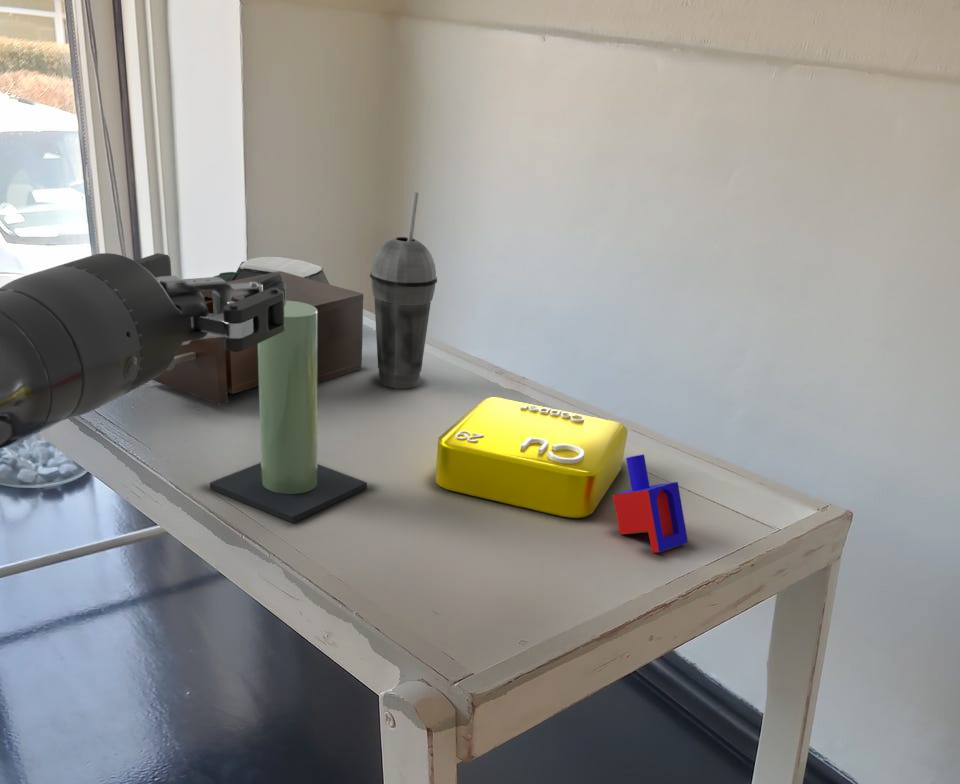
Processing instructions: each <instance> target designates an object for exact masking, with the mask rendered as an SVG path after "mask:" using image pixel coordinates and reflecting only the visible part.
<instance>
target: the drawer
mask: <svg viewBox="0 0 960 784" xmlns="http://www.w3.org/2000/svg"><path fill="white" fill-rule="evenodd" d="M205 302H206V305H207V307H208V311H209V312H208V313H212V314H214V311H213V300H208V301H205ZM152 381H154V382H156V383H159V384H162V385H165V386H168V387H170V388H173V389H175V390H178V391H180V392H183V393H186V394H189V395H192V396H195V397H199V398H201V399H203V400H205V401H209V402H212V403H214V404H217V405H222V404H225V403H227V402H228V400H229V399H228V394H230V395H233V394H236V393H240V392H243V391H246V390H249V389H253V388H256V387H258V355H257V344H256V345H254V346H252V347H250V348H247V349H245V350H243V351H239V352H232V351H229V350H226V349H225V337H217V338H207V339H198V340H192V341H191V342H190V343H189V344H187V345H181V346H180V348H179V350H178V351H177V353H176V355H175V357H174V359H173V361H172V363H171V364H170V366H169V367H168V368H167V369H166V370H165V371H164V372H163V373H162V374H161V375H160V376H158V377H157V378H155V379H153V380H152Z"/></svg>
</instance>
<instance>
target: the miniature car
mask: <svg viewBox="0 0 960 784" xmlns="http://www.w3.org/2000/svg"><path fill="white" fill-rule="evenodd" d="M323 269H324V267H322V266H320V265H317V264H314V263H311V262H308V261H305V260H299V259H294V258H288V257H282V256H261V257H259V256H258V257H252V258H250V259H246V260H243V261H241V263H240V264H239V265H238V267H237V269H236V271H225V272H220V273H219V274H217V275H213V277H219V278H221V279H223V280H224V281H226V282H229V281H234V280H238V279H243V278H248V277H253V276H258V275H263V274H268V273H273V272H278V271H282V272H285V273H289V274H293V275H296V276H300V277H304V278H307V279H311V280H315V281H318V282H322V283H326V284H329V285H331V284H330V282H329V280H328V278H327V276H326V273H325V272H324V270H323Z"/></svg>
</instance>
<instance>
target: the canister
mask: <svg viewBox="0 0 960 784" xmlns="http://www.w3.org/2000/svg"><path fill="white" fill-rule="evenodd" d="M284 323H285V331H284V332H281V333H279V334H277V335H275V336H273V337H271V338H269V339H267V340H264V341H262V342H260V343H258V344H257V355H258V386H257V387H258V409H259V411H258V412H259V414H258V415H259V445H260V463H261V480H262V485H263V486H264V487H265V488H266V489H268V490H270V491H272V492H276V493H281V494H300V493H305V492H308V491H311V490H313V489H314V488H315V487H316V486H317V464H318V449H319V448H318V445H319V444H318V443H319V441H318V434H319V433H318V432H319V431H318V430H319V429H318V428H319V427H318V424H319V423H318V421H319V420H318V417H319V416H318V415H319V414H318V413H319V412H318V407H319V406H318V395H319V394H318V392H319V391H318V387H319V385H318V384H319V383H318V311H317V309H316V308H315V307H314V306H312V305H309V304H306V303H302V302H296V301H286V304H285V306H284Z"/></svg>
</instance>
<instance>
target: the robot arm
mask: <svg viewBox="0 0 960 784" xmlns="http://www.w3.org/2000/svg"><path fill="white" fill-rule="evenodd" d="M171 263H172V262H171V257H170V255H169V254H165V253H159V252H157V253H153V254H151V255H147V256H144V257H141V258H139V259H135V260H134V259H132V258H130V257H127V256H124V255H121V254H117V253H110V252H107V253H106V252H103V253H96V254H92V255H89V256H85V257H83V258H79V259H76V260H71V261H69V262H66V263H63V264H59V265H56V266H53V267H50V268H46V269H43V270H40V271H36V272H33V273H30V274H27V275H23V276H22V277H21V276H20V277H18V278H16V279H14V280H11V281H9V282H8V283H6V284H4V285H2V286H1V287H0V450H3V449H6V448H8V447H10V446H13V445H16V444H18V443H21V442H23V441H25V440H27V439H29V438H31V437H33V436H35V435H37V434H39V433H41V432H44V431H45V430H46V429H49V428H51V427H53V426H55V425H57V424H59V423H61V422H62V421H65V420H68V419H72V418H75V417H79V416H82V415H85V414H86V415H87V414H88V413H91V412H93V411H95V410H97V409H99V408H101V407H103V406H104V405H107V404H108V403H111V402H113V401H114V400H117V399H118V398H121V397H122V396H124V395H126V394H129V393H130V392H132V391H133V390H135V389H137V388H139V387H142V386H143V385H145V384H147V383H149V382H152V381H153V379H155V378H157V377H158V376H160V375H161V374H162V373H163V372H164V371H165V370H166V369H167V368H168V367H169V366H170V364H171V363H172V361H173V359H174V357H175V355H176V353H177V351H178V350H179V348H180V346H181V345H187V344H189V343H190V342H191V341H192V340H198V339H207V338H217V337H225V349H226V350H229V351H232V352H239V351H243V350H245V349H247V348H250V347H252V346H254V345H256V344H258V343H260V342H262V341H264V340H267V339H269V338H271V337H273V336H275V335H277V334H279V333H281V332H284V331H285V323H284V306H285V304H286V282H284V281H283V278H282V275H281V274H276V273H268V274H266V275H263V276H261V277H259V278H257V279H254V280H252V281H250V282H247V283H238V284H229V283H228V282H226V281H224V280H223V279H221V278H219V277H214V276H210V277H196V278H195V277H193V278H181V277H178V275H172V265H171ZM204 291H212V293H213V311H214V314H212V313H208V312H209V311H208V307H207V305H206V302H205V300H204V298H203V295H202V294H201V292H204ZM235 296H244V299H242V300H239V301H237V302H233V301H232V298H233V297H235Z"/></svg>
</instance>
